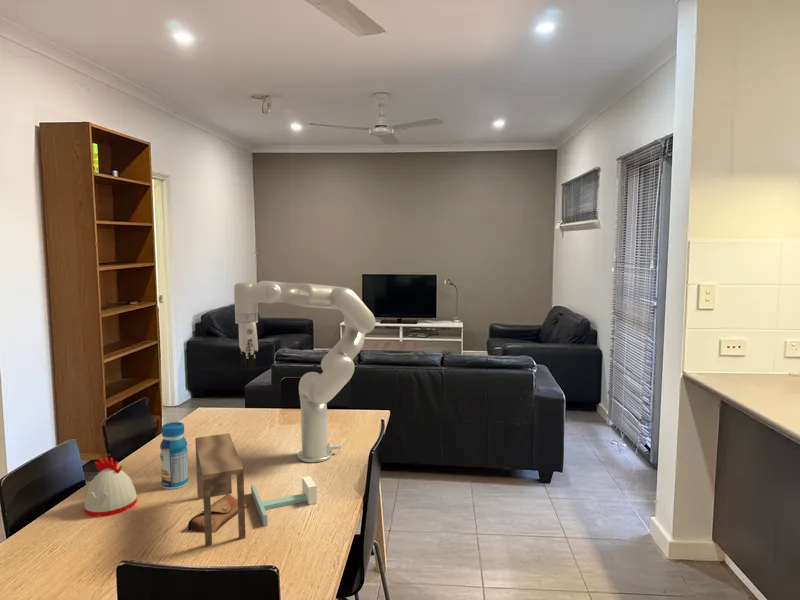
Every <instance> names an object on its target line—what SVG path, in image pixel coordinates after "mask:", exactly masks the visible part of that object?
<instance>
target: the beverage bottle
mask: <svg viewBox="0 0 800 600" xmlns="http://www.w3.org/2000/svg"><path fill="white" fill-rule="evenodd" d="M184 434H185V424H184V423H183V422H181V421H180V422H179V421H178V422H177V421H173V422H168V423H165V424H163V425H162V426H161V437H162V438H163V439H162V440H161V441H160V446H159V449H160V450H161V451H160V453H159V458H160V468H161V469H160V470H161V471H160V472H161V486H162V488H163V489H167V490H175V489H179V488H180V489H181V488H182V487H185V486H187V485H188V484H189V482H190V480H189V479H190V478H189V460H188V458H189V456H188V455H189V449H188V447H187V446H188V441H187V439H186V437H185V436H184Z"/></svg>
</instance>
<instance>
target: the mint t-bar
mask: <svg viewBox="0 0 800 600" xmlns="http://www.w3.org/2000/svg"><path fill="white" fill-rule="evenodd" d="M301 486H302V490H301V491H302V493H299V494H295V495H290V496H289V495H288V496H285V497H279V498H274V499H269V500H268V499H267V500H265V501H262V500H261V496H260V494H259V492H258V490H257V487H256V485H255V483H252V484H250V493H251V497H252V499H253V502H254V504H255V506H256V510H257V512H258V515H259V517H260V520H261V522H262V525H263V527H267V526H268V513H267V512H266V510H270V509H276V508H281V507H285V506H291V505H296V504H301V503H307V504H308V505H314V504H318V497H317V496H318V495H317V493H318V490H317V487H318V486H317V485H316V483H315V482H314V480H313V479H312V476H311V475H308V476H302V477H301ZM300 502H301V503H300ZM295 503H296V504H295ZM290 504H291V505H290Z"/></svg>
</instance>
